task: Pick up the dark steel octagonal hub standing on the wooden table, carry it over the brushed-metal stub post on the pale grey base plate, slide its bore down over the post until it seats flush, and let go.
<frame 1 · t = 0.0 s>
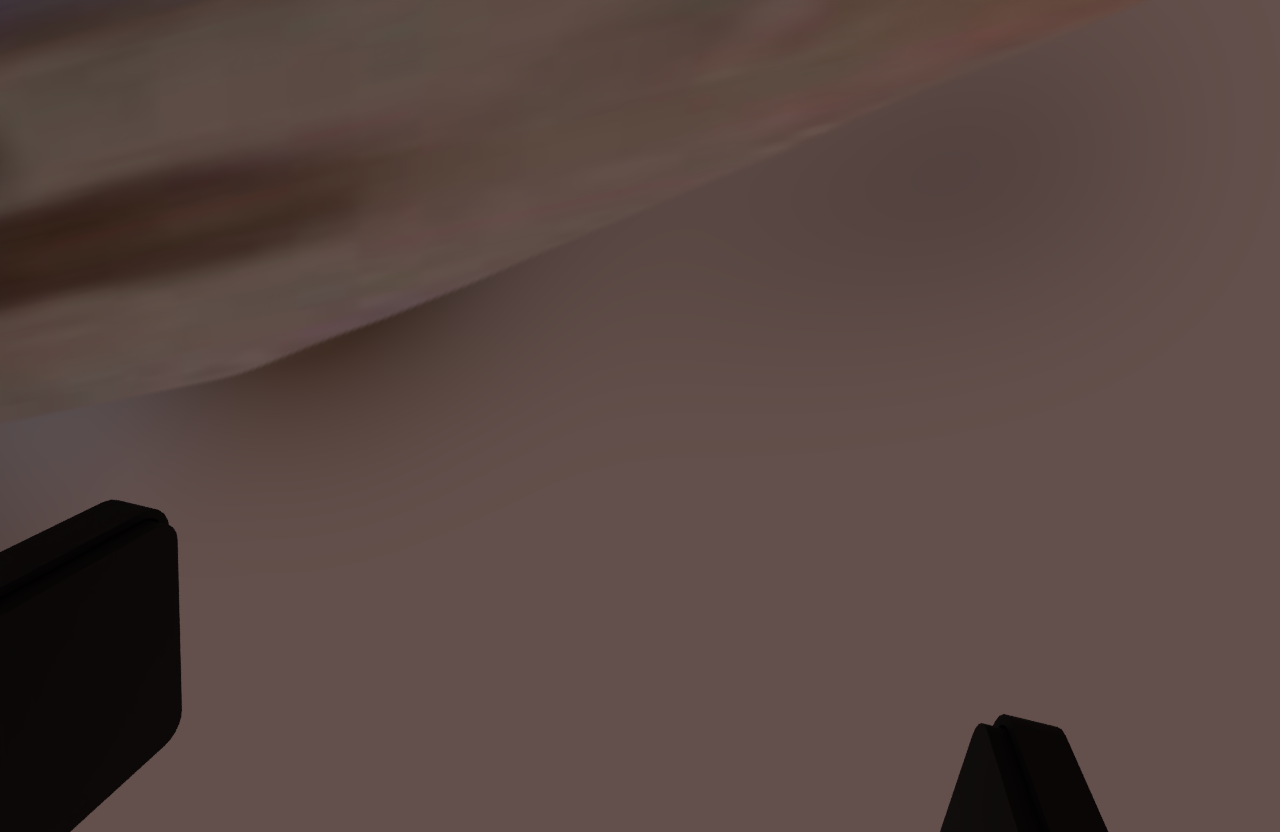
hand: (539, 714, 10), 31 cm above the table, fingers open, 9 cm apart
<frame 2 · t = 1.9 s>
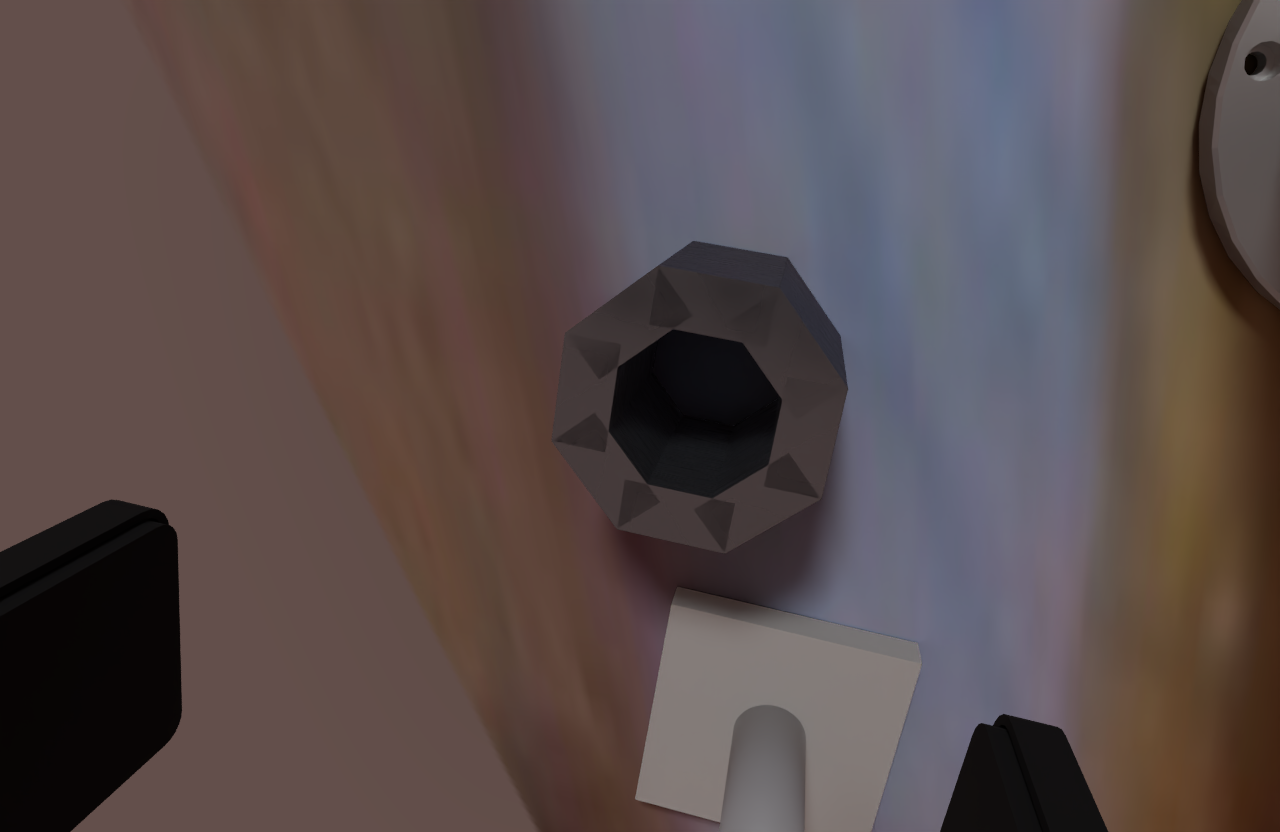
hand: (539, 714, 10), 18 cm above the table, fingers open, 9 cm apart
hub: (719, 359, 26), on the table
shaft block: (771, 713, 29), on the table
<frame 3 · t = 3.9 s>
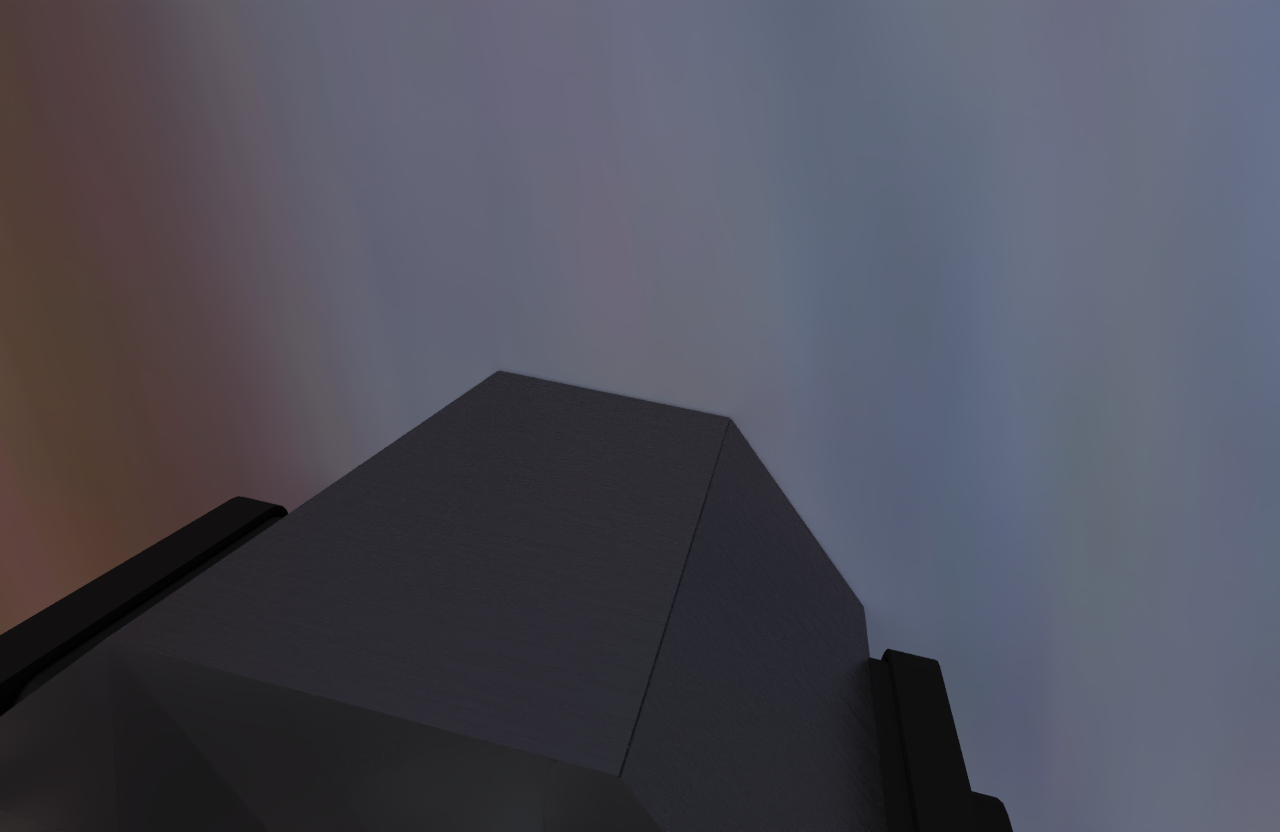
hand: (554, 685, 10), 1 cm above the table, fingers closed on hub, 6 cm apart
hub: (575, 640, 11), on the table, touching gripper
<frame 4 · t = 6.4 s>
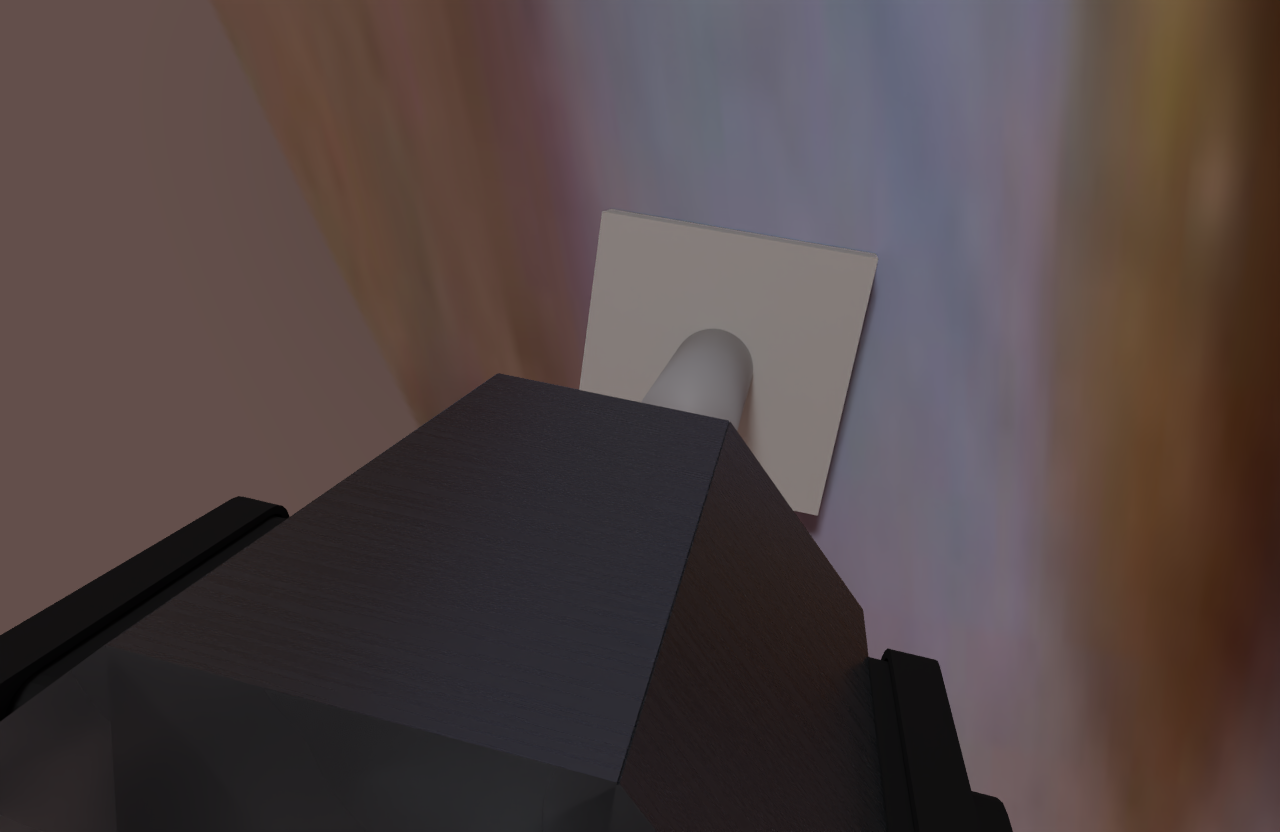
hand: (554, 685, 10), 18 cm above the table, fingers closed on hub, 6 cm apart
hub: (575, 643, 11), point 17 cm above the table, touching gripper
shaft block: (717, 358, 27), on the table
when the fingers open (3 cm above the table, at t = 9.3 s): hub stays where it is, resting on shaft block.
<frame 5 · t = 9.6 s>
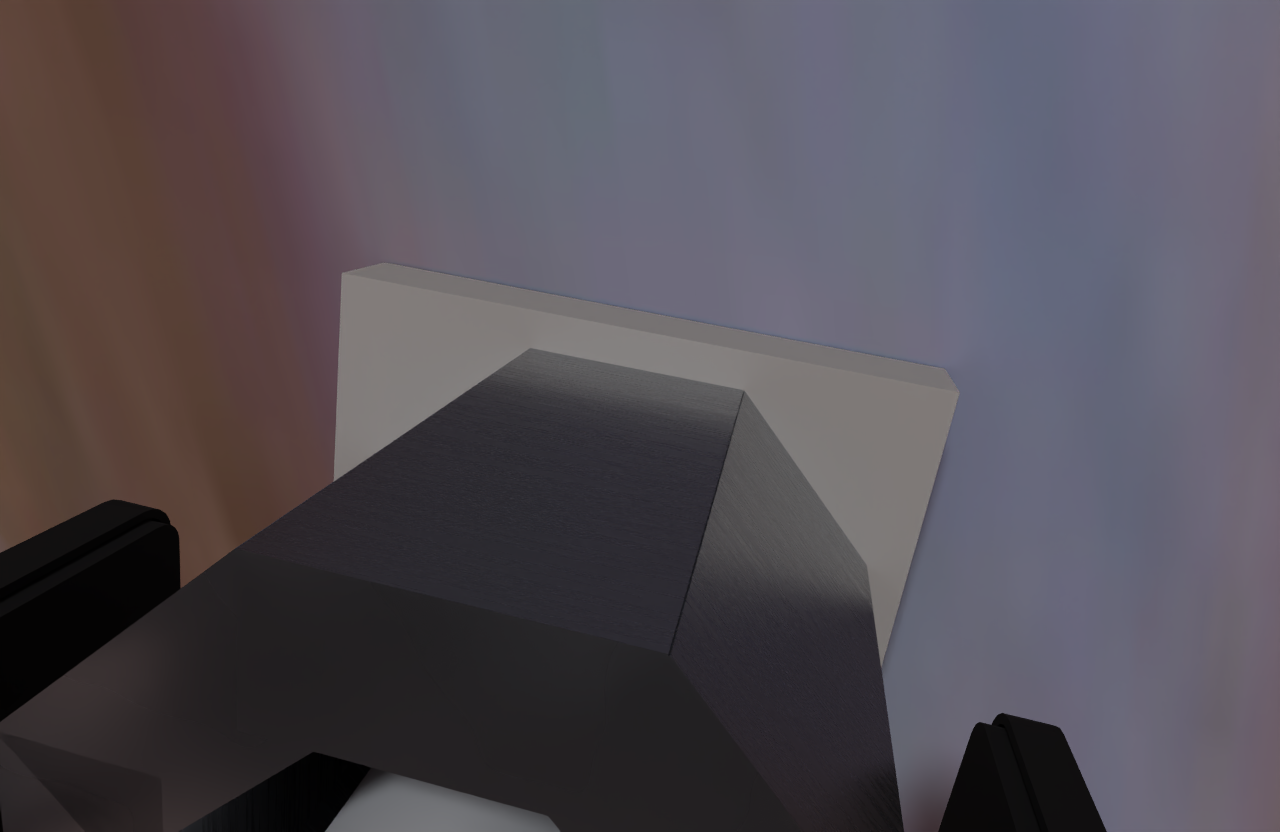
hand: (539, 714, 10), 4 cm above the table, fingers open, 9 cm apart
hub: (599, 600, 12), point 1 cm above the table, touching shaft block
shaft block: (611, 566, 13), on the table
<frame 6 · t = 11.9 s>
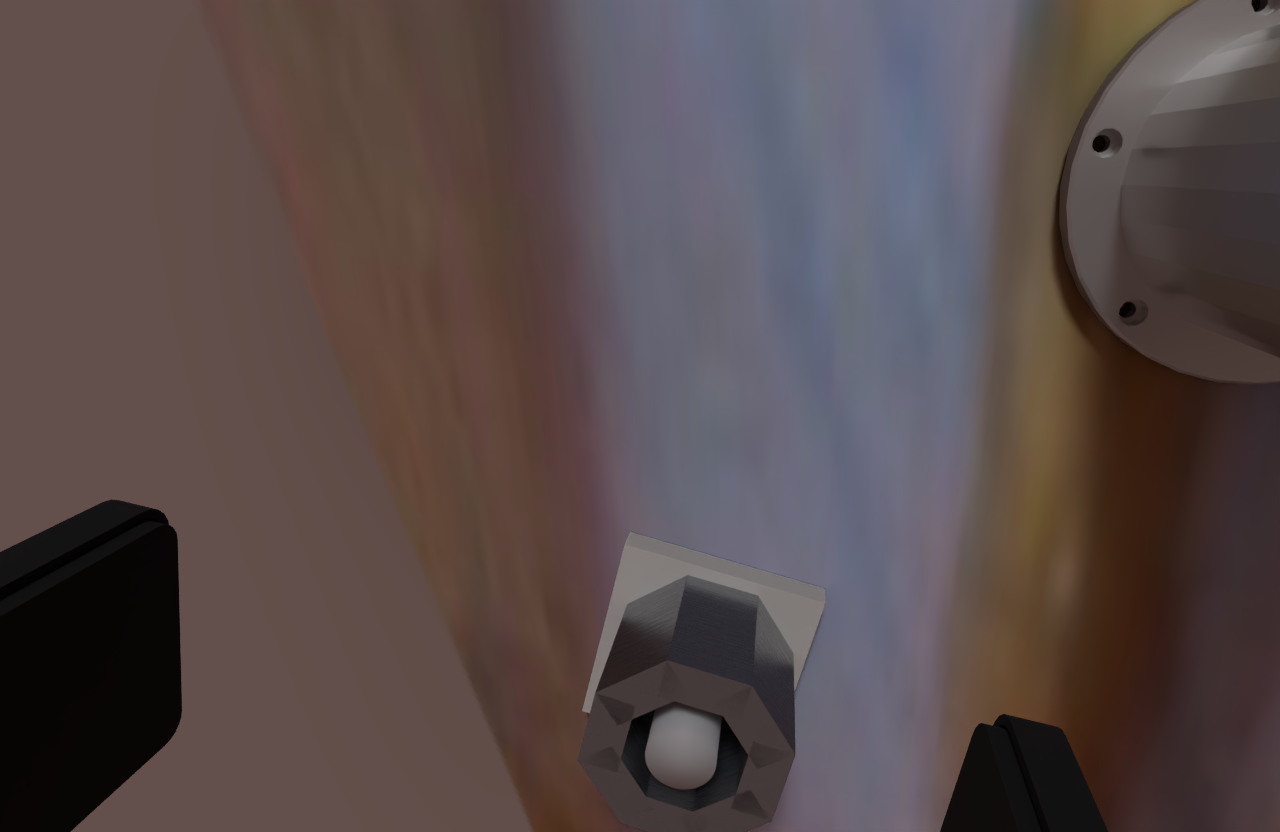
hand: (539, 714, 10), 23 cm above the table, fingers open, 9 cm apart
hub: (700, 658, 34), point 1 cm above the table, touching shaft block
shaft block: (700, 643, 35), on the table
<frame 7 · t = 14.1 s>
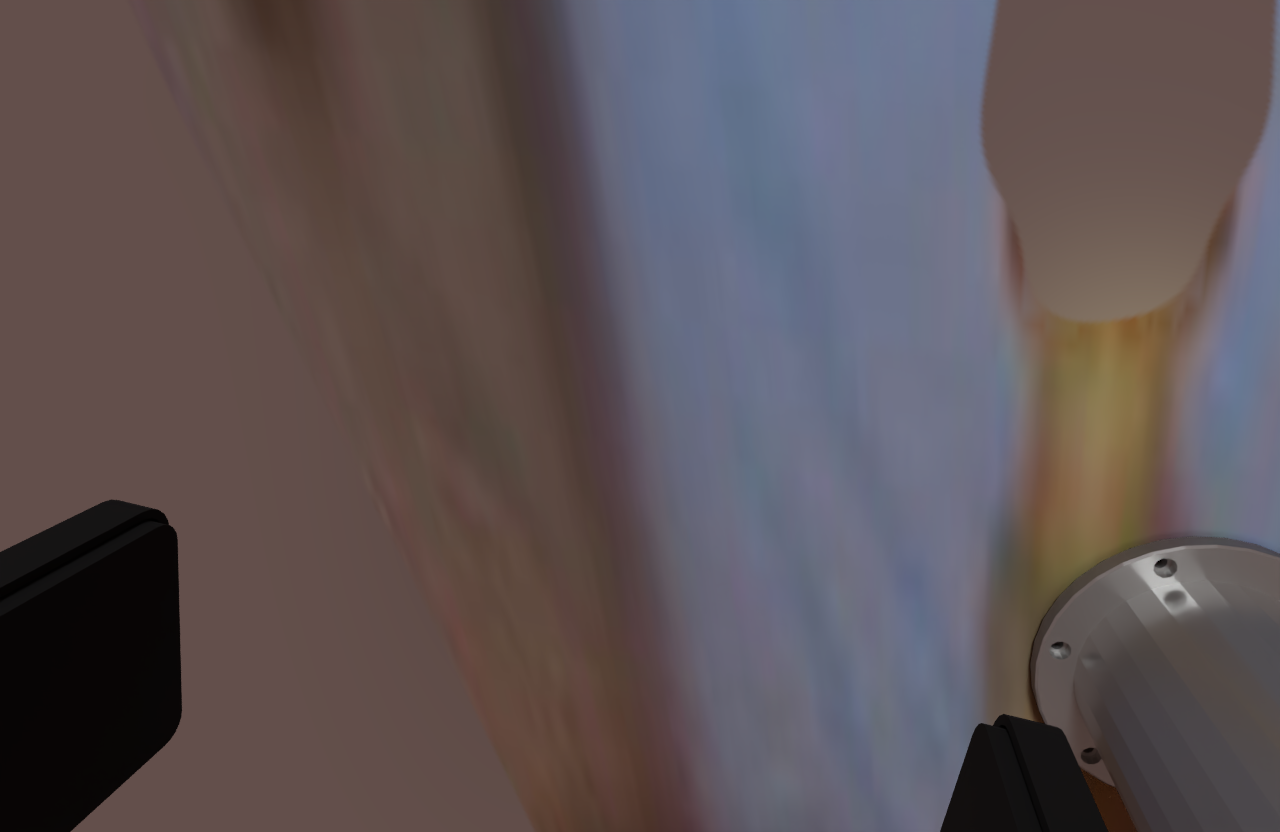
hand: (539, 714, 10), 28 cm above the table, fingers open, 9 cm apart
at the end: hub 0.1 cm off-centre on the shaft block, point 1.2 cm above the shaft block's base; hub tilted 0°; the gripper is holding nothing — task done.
